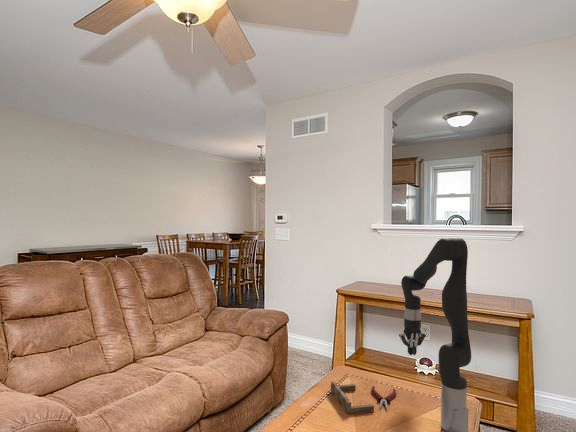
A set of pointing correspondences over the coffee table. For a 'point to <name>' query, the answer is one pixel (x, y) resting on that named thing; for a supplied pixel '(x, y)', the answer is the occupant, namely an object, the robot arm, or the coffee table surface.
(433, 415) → the coffee table surface
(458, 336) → the robot arm
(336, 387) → the tool rest
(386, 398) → the pliers
